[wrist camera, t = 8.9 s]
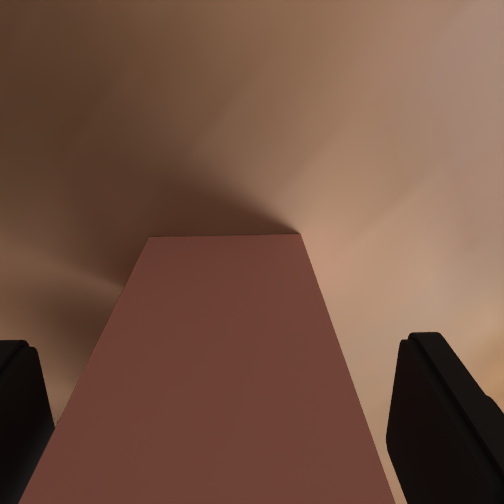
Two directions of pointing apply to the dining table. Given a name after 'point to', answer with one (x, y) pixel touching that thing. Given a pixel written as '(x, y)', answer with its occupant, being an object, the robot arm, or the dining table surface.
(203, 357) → the domino
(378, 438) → the dining table surface
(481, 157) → the dining table surface
